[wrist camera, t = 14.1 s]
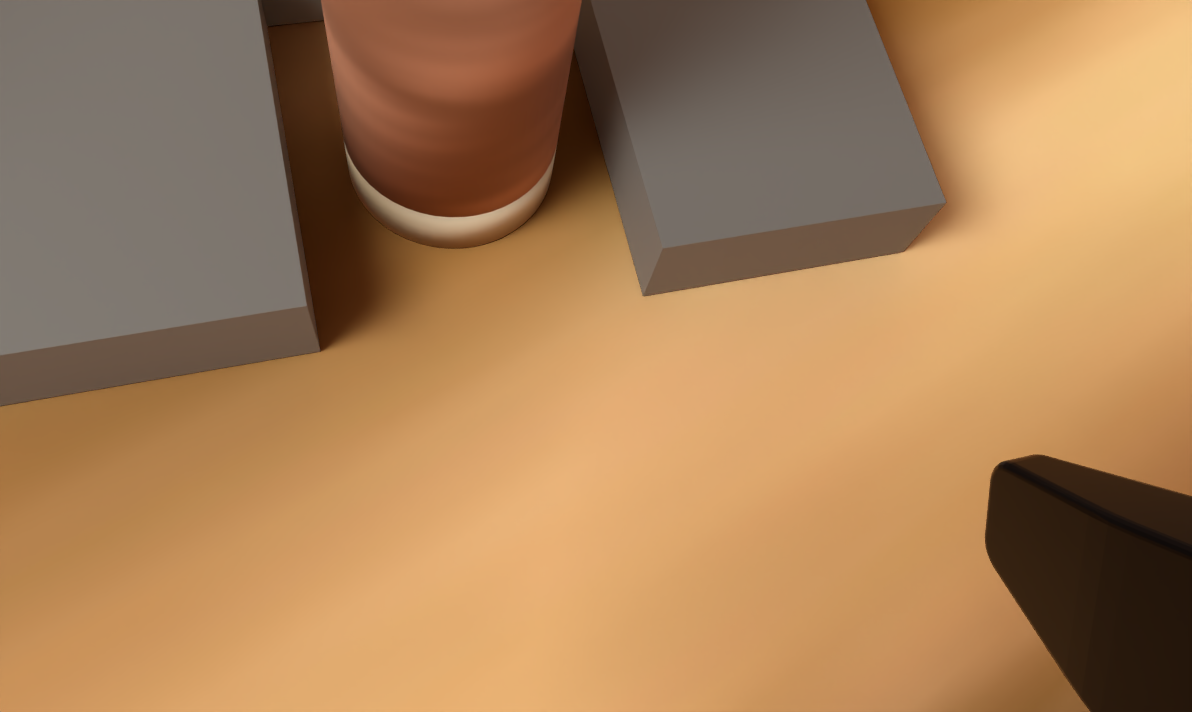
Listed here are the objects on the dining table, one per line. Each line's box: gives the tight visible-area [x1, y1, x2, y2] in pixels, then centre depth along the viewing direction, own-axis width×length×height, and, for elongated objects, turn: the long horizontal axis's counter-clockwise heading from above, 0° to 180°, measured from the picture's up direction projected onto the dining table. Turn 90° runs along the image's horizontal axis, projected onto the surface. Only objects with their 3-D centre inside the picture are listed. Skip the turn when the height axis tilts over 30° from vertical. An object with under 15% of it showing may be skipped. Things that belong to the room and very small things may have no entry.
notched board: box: [0, 0, 946, 406], centre depth 26 cm, size 15×21×2 cm
